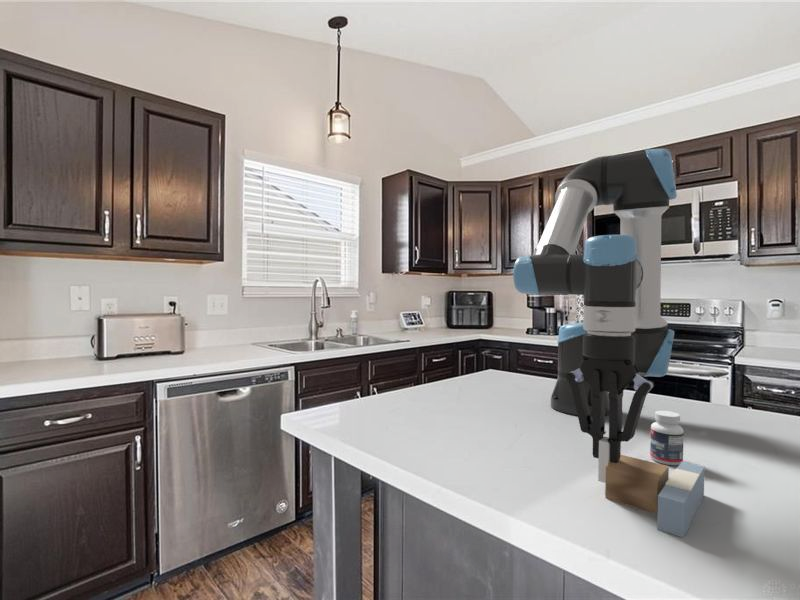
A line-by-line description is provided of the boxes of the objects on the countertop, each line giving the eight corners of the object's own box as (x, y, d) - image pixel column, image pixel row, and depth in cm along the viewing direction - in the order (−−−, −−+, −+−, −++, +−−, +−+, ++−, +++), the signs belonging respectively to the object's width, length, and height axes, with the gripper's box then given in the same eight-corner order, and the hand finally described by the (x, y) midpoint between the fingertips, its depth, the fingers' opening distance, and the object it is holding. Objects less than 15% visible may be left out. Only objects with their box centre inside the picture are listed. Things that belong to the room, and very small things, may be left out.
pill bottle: (644, 455, 85) (644, 409, 85) (669, 454, 85) (670, 409, 85) (662, 466, 80) (663, 417, 79) (689, 465, 80) (690, 417, 80)
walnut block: (605, 499, 68) (605, 467, 67) (619, 484, 73) (620, 454, 73) (656, 515, 63) (657, 480, 63) (668, 498, 68) (668, 466, 68)
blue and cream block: (657, 528, 59) (657, 494, 59) (681, 489, 71) (681, 459, 70) (683, 537, 57) (684, 501, 57) (703, 494, 69) (704, 465, 68)
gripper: (558, 331, 72) (556, 475, 72) (648, 338, 63) (644, 501, 64) (576, 328, 77) (574, 462, 78) (660, 334, 68) (657, 484, 69)
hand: (605, 479), depth 71 cm, fingers closed
